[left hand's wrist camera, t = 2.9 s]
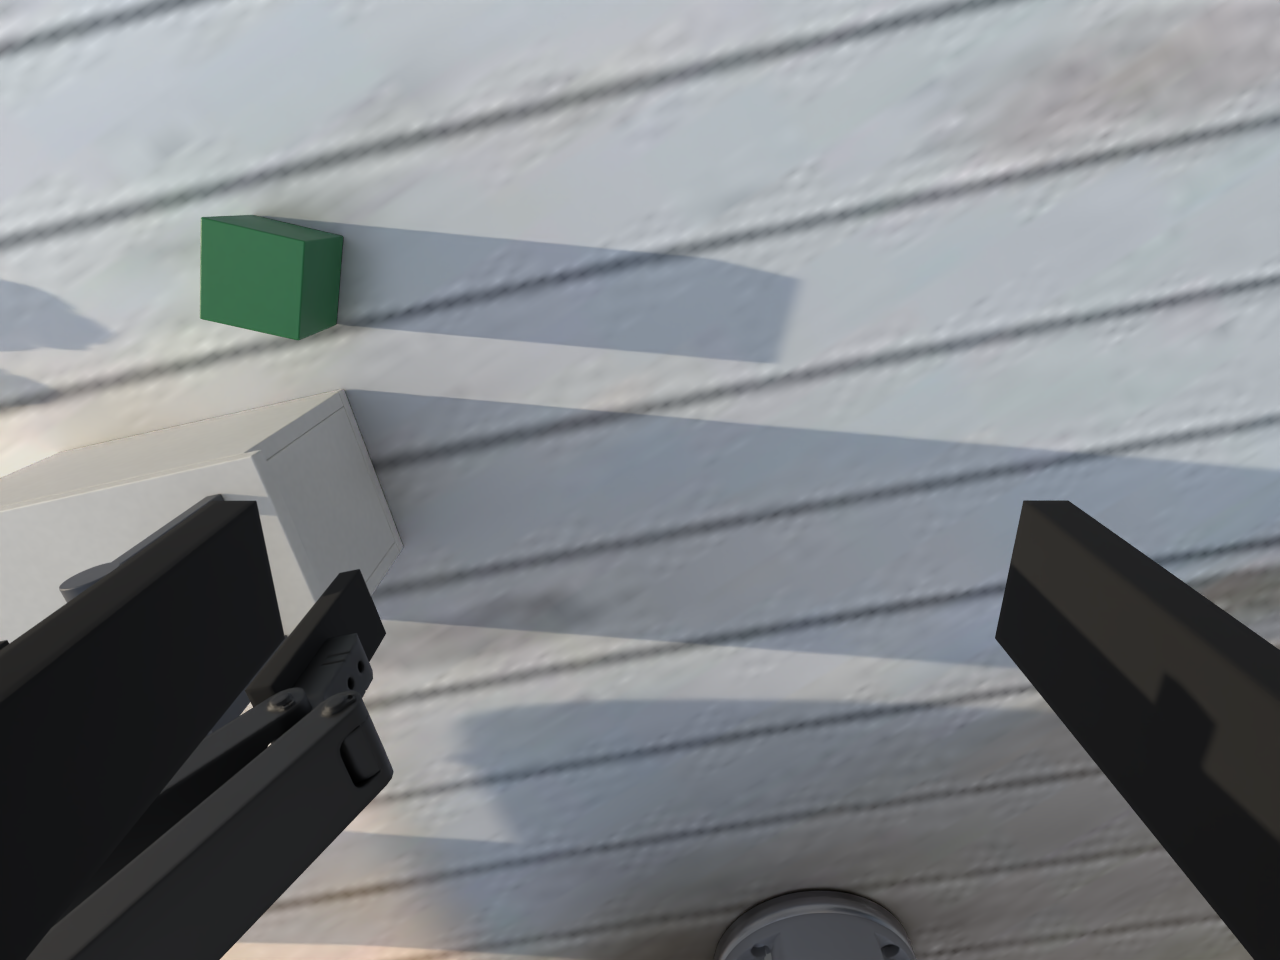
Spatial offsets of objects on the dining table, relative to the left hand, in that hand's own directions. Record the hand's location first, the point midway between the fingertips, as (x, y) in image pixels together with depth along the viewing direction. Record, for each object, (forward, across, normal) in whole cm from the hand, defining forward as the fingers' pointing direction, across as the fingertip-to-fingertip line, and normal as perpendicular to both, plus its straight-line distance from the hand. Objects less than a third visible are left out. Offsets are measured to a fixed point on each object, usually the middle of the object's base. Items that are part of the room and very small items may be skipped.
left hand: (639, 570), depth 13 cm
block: (+28, +18, -2) cm, 33 cm away
